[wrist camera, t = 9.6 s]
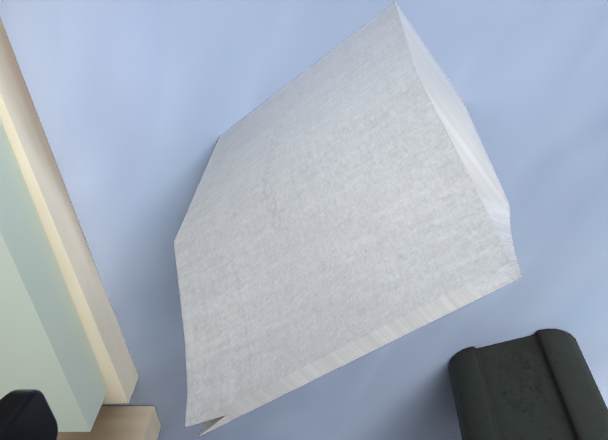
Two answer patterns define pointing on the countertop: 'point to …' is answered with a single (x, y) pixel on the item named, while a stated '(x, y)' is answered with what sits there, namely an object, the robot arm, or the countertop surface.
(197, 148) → the countertop surface
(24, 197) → the offcut top
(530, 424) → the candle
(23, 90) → the offcut low
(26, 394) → the robot arm
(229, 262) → the white printed packet
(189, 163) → the countertop surface
